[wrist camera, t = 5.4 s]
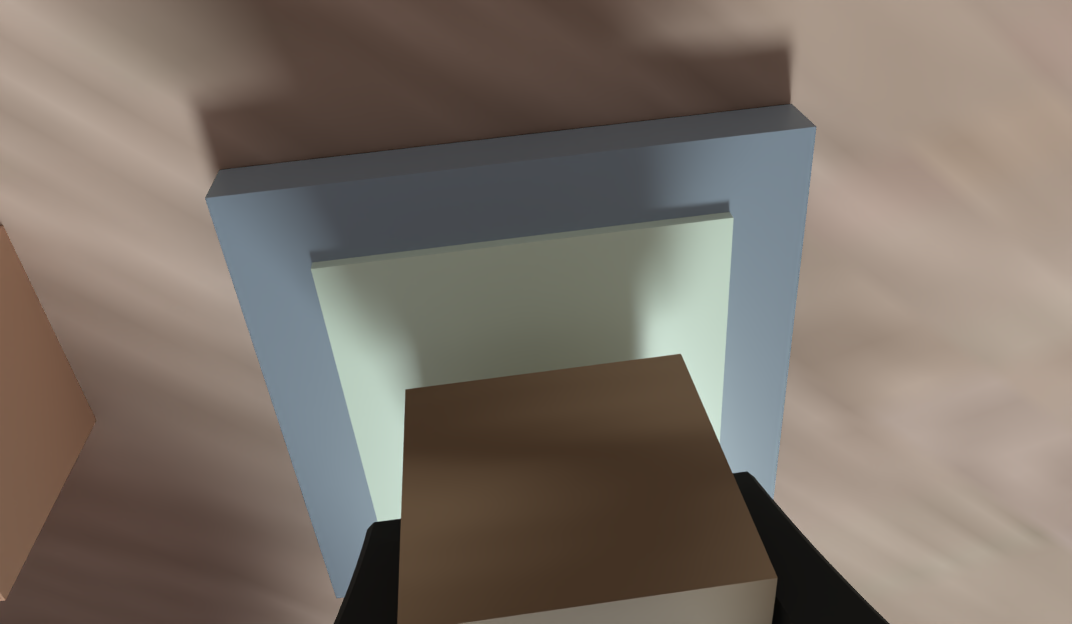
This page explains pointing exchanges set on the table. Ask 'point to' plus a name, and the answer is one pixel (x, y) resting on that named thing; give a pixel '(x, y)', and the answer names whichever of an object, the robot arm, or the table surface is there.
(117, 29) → the table surface
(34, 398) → the terracotta cube
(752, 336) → the baseplate
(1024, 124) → the table surface
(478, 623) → the brass cube
